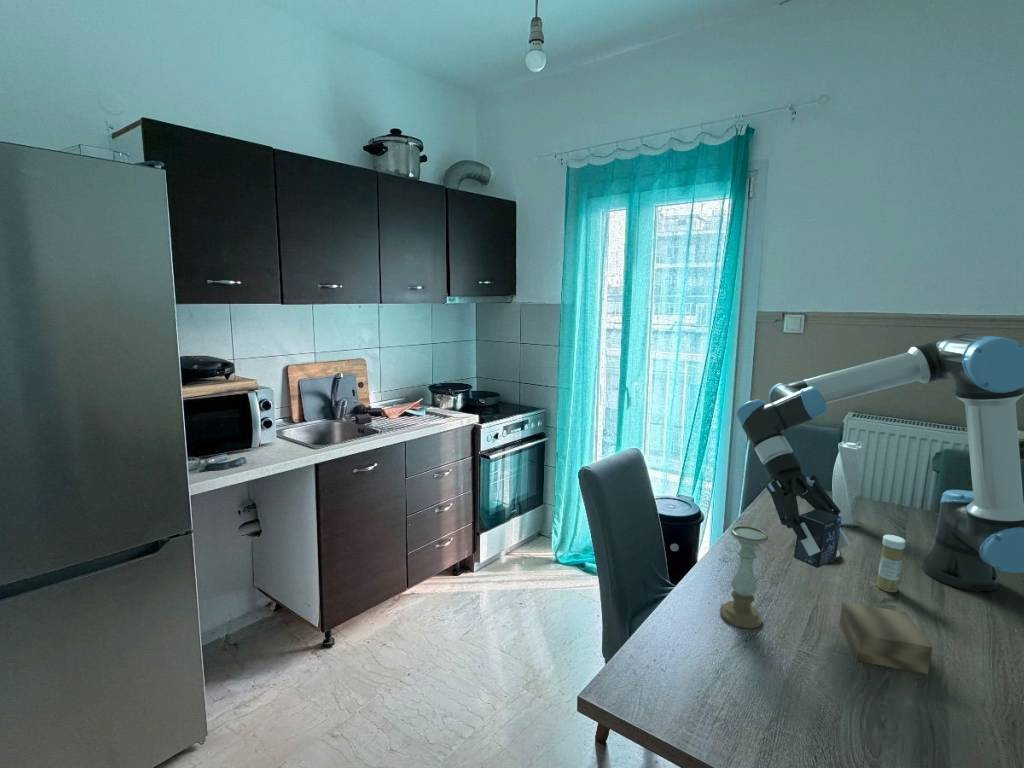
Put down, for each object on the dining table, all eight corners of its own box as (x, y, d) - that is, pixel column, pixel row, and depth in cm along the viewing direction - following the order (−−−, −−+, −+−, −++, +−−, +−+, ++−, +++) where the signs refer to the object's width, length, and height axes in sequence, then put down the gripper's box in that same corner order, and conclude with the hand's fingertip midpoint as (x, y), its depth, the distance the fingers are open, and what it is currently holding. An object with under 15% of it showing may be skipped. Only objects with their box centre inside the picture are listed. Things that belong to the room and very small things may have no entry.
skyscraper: (861, 528, 169) (873, 442, 165) (836, 527, 169) (847, 441, 165) (845, 517, 178) (856, 435, 173) (821, 516, 178) (831, 434, 173)
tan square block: (902, 637, 114) (906, 612, 113) (927, 675, 103) (932, 647, 102) (839, 627, 118) (842, 602, 117) (856, 662, 106) (860, 634, 105)
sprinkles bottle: (884, 582, 136) (891, 532, 134) (902, 591, 132) (910, 540, 130) (871, 585, 135) (878, 535, 133) (889, 594, 131) (897, 543, 128)
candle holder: (759, 610, 122) (769, 527, 119) (764, 632, 114) (774, 544, 111) (719, 602, 125) (726, 521, 122) (720, 623, 117) (728, 537, 114)
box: (818, 569, 116) (824, 523, 114) (793, 558, 121) (798, 514, 119) (836, 560, 120) (842, 516, 119) (811, 550, 125) (816, 507, 123)
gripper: (800, 462, 136) (851, 549, 124) (734, 470, 128) (782, 563, 116) (821, 447, 130) (877, 537, 118) (753, 455, 122) (806, 551, 110)
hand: (830, 550), depth 117 cm, fingers closed on box, 9 cm apart
